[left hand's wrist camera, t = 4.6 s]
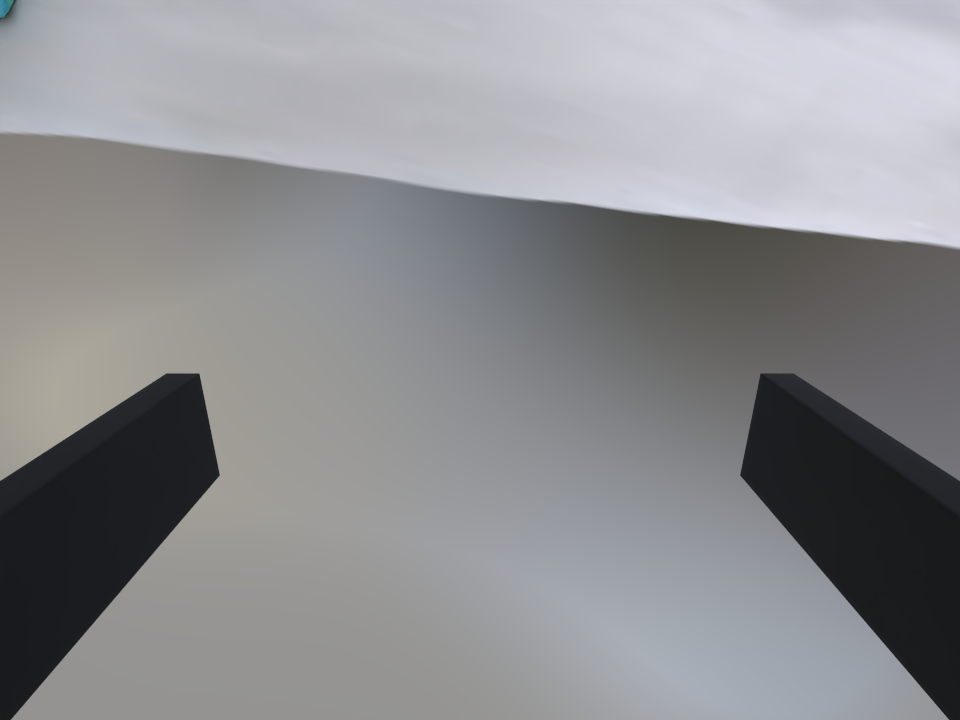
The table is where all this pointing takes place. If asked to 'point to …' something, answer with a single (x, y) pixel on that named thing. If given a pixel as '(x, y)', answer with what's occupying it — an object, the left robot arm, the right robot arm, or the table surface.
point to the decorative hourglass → (5, 7)
